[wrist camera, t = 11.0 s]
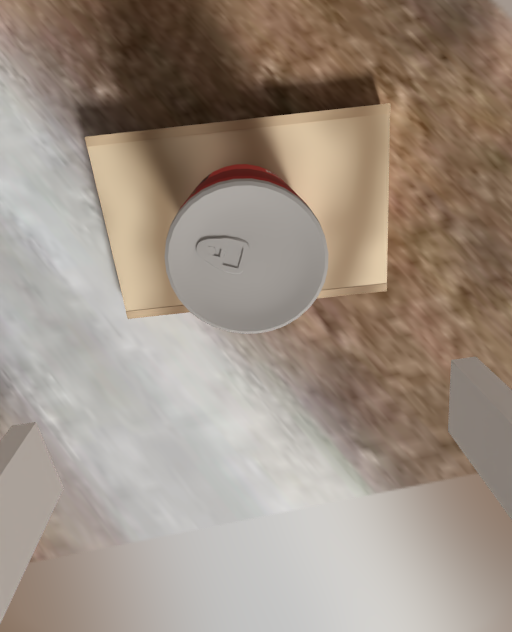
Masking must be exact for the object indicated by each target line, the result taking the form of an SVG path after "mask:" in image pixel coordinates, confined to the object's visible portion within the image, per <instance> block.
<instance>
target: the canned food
mask: <svg viewBox="0 0 512 632" xmlns="http://www.w3.org/2000/svg"><path fill="white" fill-rule="evenodd" d="M165 265H166V273H167V275H168V278H169V281H170V284H171V287H172V288H173V290H174V292H175V294H176V295H177V297H178V299H179V300H180V301H181V302H182V303H183V305H184V306H185V307H186V308H187V309H188V310H189V311H190V312H191V313H193V314H194V315H195V316H196V317H198V318H199V319H200V320H202V321H204V322H206V323H207V324H209V325H211V326H213V327H216V328H219V329H222V330H225V331H228V332H235V333H242V334H250V333H262V332H267V331H272V330H275V329H277V328H280V327H282V326H285V325H287V324H289V323H290V322H292V321H294V320H295V319H297V318H298V317H300V316H301V315H302V314H303V313H304V312H305V311H306V310H307V309H308V308H310V306H311V305H312V304H313V302H314V301H315V300H316V298H317V297H318V295H319V293H320V291H321V289H322V287H323V285H324V283H325V279H326V275H327V270H328V249H327V243H326V238H325V235H324V232H323V230H322V228H321V225H320V223H319V221H318V219H317V218H316V216H315V215H314V213H313V212H312V210H311V209H310V208H309V206H308V205H307V204H306V203H305V202H304V201H303V200H302V199H301V198H300V197H299V196H298V195H297V194H296V193H295V192H294V191H293V190H292V189H291V188H290V187H289V186H288V185H287V184H286V183H285V182H284V181H283V180H282V179H281V178H280V177H279V176H277V175H276V174H274V173H273V172H271V171H269V170H267V169H264V168H262V167H259V166H254V165H249V164H235V165H231V166H226V167H223V168H221V169H218V170H216V171H214V172H212V173H211V174H210V175H208V176H207V177H205V178H204V179H203V180H202V181H201V182H200V184H199V185H198V186H197V187H196V188H195V189H194V191H193V192H192V193H191V195H190V196H189V197H188V198H187V200H186V201H185V202H184V203H183V205H182V206H181V208H180V209H179V211H178V213H177V214H176V216H175V218H174V220H173V221H172V223H171V225H170V229H169V232H168V235H167V238H166V246H165Z"/></svg>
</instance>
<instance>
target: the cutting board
mask: <svg viewBox="0 0 512 632" xmlns="http://www.w3.org/2000/svg"><path fill="white" fill-rule="evenodd" d="M389 139H390V103H388V104H379V105H370V106H361V107H352V108H343V109H334V110H325V111H315V112H306V113H297V114H288V115H279V116H270V117H261V118H252V119H243V120H234V121H224V122H215V123H206V124H197V125H188V126H179V127H170V128H161V129H152V130H143V131H134V132H124V133H115V134H106V135H97V136H88V137H85V141H86V145H87V149H88V153H89V157H90V161H91V166H92V170H93V174H94V178H95V182H96V187H97V191H98V195H99V199H100V204H101V208H102V212H103V216H104V220H105V225H106V229H107V233H108V237H109V241H110V246H111V250H112V254H113V258H114V262H115V267H116V271H117V275H118V279H119V283H120V288H121V292H122V296H123V300H124V305H125V309H126V314H127V318H128V319H131V318H140V317H149V316H159V315H168V314H177V313H186V312H190V311H189V310H188V309H187V308H186V307H185V306H184V305H183V303H182V302H181V301H180V300H179V299H178V297H177V295H176V294H175V292H174V290H173V288H172V287H171V284H170V281H169V278H168V275H167V273H166V265H165V246H166V238H167V235H168V232H169V229H170V225H171V223H172V221H173V220H174V218H175V216H176V214H177V213H178V211H179V209H180V208H181V206H182V205H183V203H184V202H185V201H186V200H187V198H188V197H189V196H190V195H191V193H192V192H193V191H194V189H195V188H196V187H197V186H198V185H199V184H200V182H201V181H202V180H203V179H204V178H205V177H207V176H208V175H210V174H211V173H212V172H214V171H216V170H218V169H221V168H223V167H226V166H231V165H235V164H249V165H254V166H259V167H262V168H264V169H267V170H269V171H271V172H273V173H274V174H276V175H277V176H279V177H280V178H281V179H282V180H283V181H284V182H285V183H286V184H287V185H288V186H289V187H290V188H291V189H292V190H293V191H294V192H295V193H296V194H297V195H298V196H299V197H300V198H301V199H302V200H303V201H304V202H305V203H306V204H307V205H308V206H309V208H310V209H311V210H312V212H313V213H314V215H315V216H316V218H317V219H318V221H319V223H320V225H321V228H322V230H323V232H324V235H325V238H326V243H327V249H328V270H327V275H326V279H325V283H324V285H323V287H322V289H321V291H320V293H319V295H318V297H317V298H325V297H334V296H344V295H353V294H362V293H371V292H381V291H387V243H388V191H389Z"/></svg>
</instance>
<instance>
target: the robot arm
mask: <svg viewBox="0 0 512 632" xmlns="http://www.w3.org/2000/svg"><path fill="white" fill-rule="evenodd" d="M448 432H449V433H450V434H451V436H452V437H453V439H454V440H455V441H456V443H457V444H458V446H459V447H460V448H461V450H462V451H463V453H464V454H465V455H466V457H467V458H468V460H469V461H470V462H471V464H472V465H473V467H474V468H475V469H476V471H477V472H478V474H479V475H480V476H481V478H482V479H483V480H484V482H485V483H486V485H487V486H488V488H489V489H490V490H491V492H492V493H493V494H494V496H495V497H496V498H497V500H498V501H499V503H500V504H501V506H502V507H503V508H504V510H505V511H506V513H507V514H508V515H509V517H510V518H511V519H512V390H511V389H510V388H509V387H508V386H507V385H506V384H505V383H504V382H503V381H501V380H500V379H499V378H498V377H497V376H496V375H495V374H494V373H493V372H492V371H491V370H490V369H489V368H488V367H486V366H485V365H484V364H483V363H482V362H481V361H480V360H479V359H478V358H477V357H469V358H463V359H456V360H451V379H450V402H449V424H448ZM63 489H64V488H63V485H62V483H61V481H60V478H59V476H58V473H57V471H56V469H55V466H54V464H53V462H52V459H51V457H50V454H49V452H48V450H47V447H46V445H45V443H44V440H43V438H42V435H41V433H40V431H39V428H38V426H37V424H36V422H34V423H27V424H21V425H14V426H11V428H10V429H9V430H8V432H7V433H6V434H5V436H4V437H3V439H2V440H1V441H0V623H1V621H2V619H3V617H4V615H5V612H6V610H7V608H8V606H9V604H10V602H11V600H12V597H13V595H14V593H15V591H16V589H17V587H18V584H19V583H20V580H21V578H22V576H23V574H24V572H25V570H26V568H27V565H28V563H29V561H30V559H31V557H32V555H33V553H34V551H35V548H36V546H37V544H38V542H39V540H40V538H41V536H42V533H43V531H44V529H45V527H46V525H47V523H48V521H49V518H50V516H51V514H52V512H53V510H54V508H55V506H56V504H57V501H58V499H59V497H60V495H61V493H62V491H63Z"/></svg>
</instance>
